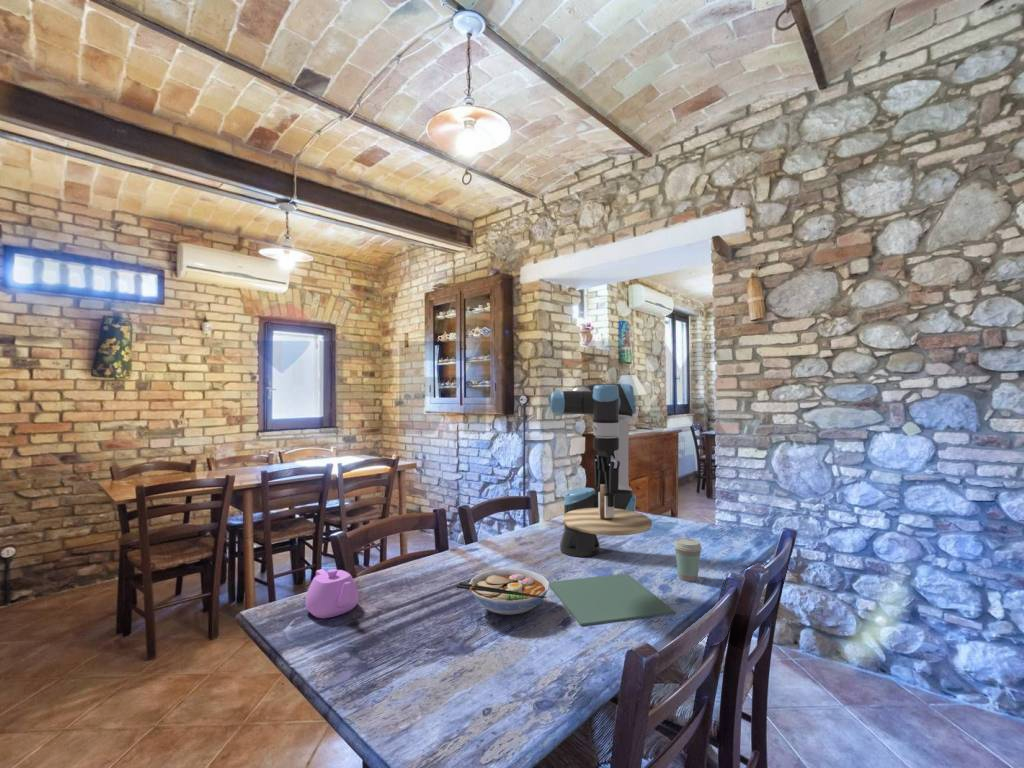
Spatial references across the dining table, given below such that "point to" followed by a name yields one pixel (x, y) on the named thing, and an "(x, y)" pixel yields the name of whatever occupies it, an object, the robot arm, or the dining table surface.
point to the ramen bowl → (508, 590)
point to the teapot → (331, 593)
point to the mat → (608, 599)
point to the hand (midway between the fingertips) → (606, 515)
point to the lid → (606, 520)
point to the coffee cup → (687, 558)
